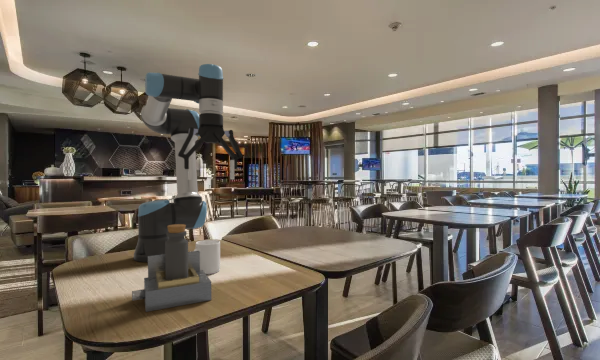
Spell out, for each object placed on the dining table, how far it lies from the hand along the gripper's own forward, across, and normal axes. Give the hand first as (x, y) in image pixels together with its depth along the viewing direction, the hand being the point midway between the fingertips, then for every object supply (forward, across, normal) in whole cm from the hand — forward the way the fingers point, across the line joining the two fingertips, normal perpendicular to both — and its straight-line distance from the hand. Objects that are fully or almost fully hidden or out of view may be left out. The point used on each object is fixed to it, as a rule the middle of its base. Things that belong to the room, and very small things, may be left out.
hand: (211, 179), depth 104 cm
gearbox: (+32, -13, -13) cm, 37 cm away
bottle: (+27, -12, -13) cm, 33 cm away
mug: (+32, -1, +7) cm, 33 cm away
